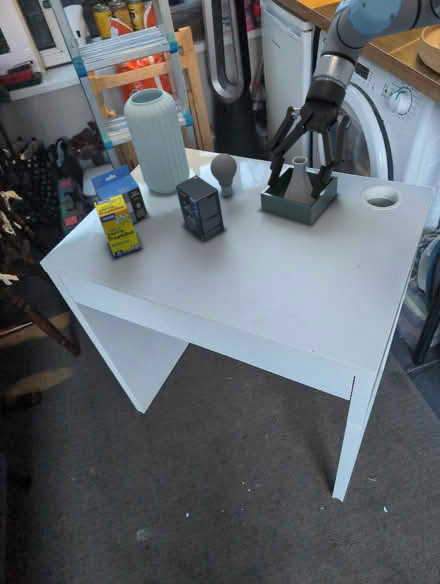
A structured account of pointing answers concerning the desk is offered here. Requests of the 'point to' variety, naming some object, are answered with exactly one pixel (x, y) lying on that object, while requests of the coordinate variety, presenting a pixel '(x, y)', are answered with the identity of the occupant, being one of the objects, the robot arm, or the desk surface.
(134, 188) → the tape cartridge
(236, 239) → the desk surface
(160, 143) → the vase
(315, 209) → the caddy
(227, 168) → the light bulb
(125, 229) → the supplement box
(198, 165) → the desk surface
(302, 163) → the flask
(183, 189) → the box
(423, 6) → the robot arm
